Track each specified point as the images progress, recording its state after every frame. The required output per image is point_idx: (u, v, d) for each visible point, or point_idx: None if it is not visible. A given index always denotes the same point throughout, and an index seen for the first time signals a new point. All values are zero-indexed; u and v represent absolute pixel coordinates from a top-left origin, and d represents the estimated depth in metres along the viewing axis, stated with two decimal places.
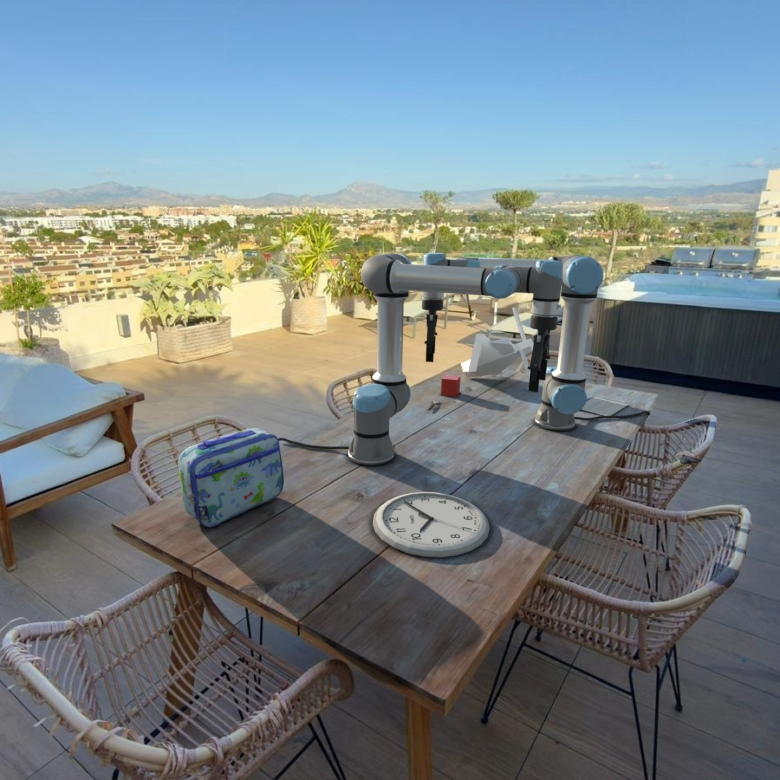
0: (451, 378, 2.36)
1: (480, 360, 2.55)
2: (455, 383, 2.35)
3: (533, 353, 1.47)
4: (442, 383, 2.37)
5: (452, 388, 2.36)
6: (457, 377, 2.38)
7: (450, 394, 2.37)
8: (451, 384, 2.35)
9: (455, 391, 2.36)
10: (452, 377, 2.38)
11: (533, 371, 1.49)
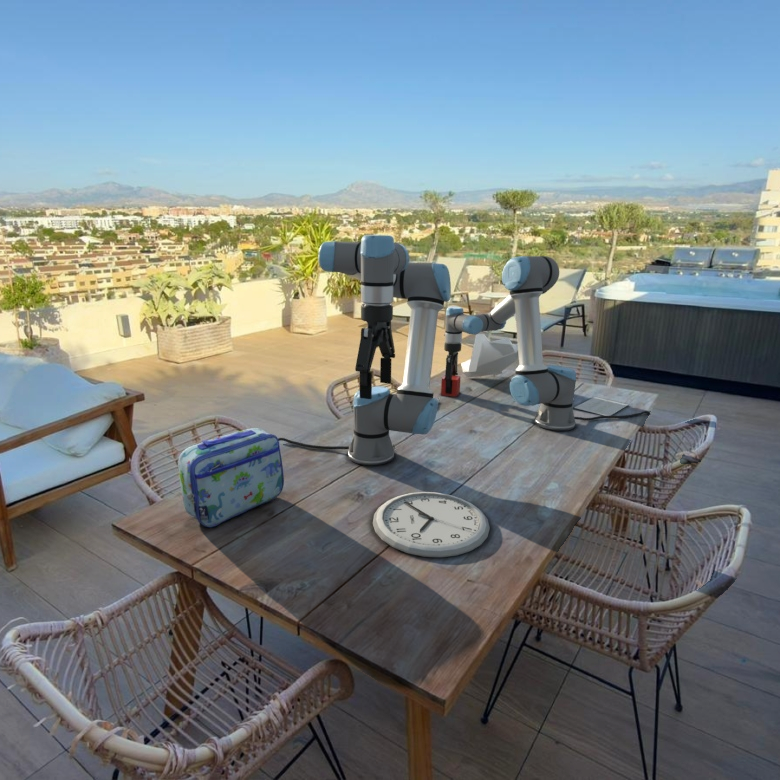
0: None
1: (480, 360, 2.55)
2: (455, 383, 2.35)
3: None
4: (442, 383, 2.37)
5: (452, 388, 2.36)
6: (457, 377, 2.38)
7: (450, 394, 2.37)
8: None
9: (455, 391, 2.36)
10: (452, 377, 2.38)
11: None
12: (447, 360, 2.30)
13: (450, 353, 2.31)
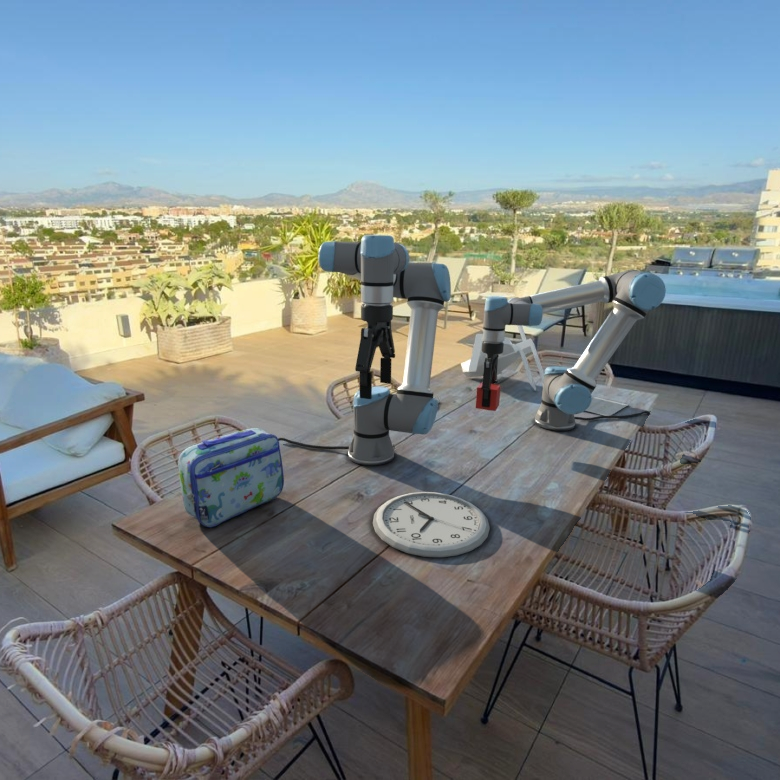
0: None
1: (480, 360, 2.55)
2: (494, 394, 1.84)
3: None
4: (477, 393, 1.86)
5: (491, 400, 1.85)
6: (497, 386, 1.88)
7: (487, 407, 1.86)
8: None
9: (494, 404, 1.85)
10: None
11: None
12: (485, 364, 1.79)
13: (489, 356, 1.81)
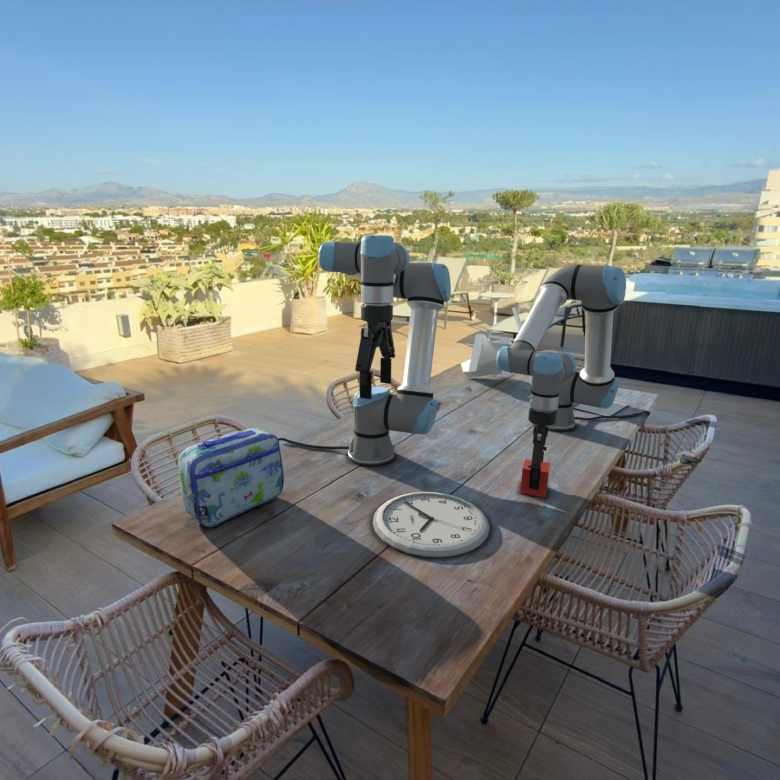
0: None
1: (480, 360, 2.55)
2: (545, 477, 1.47)
3: None
4: (523, 476, 1.49)
5: (540, 484, 1.48)
6: (546, 465, 1.51)
7: (536, 493, 1.50)
8: None
9: (544, 489, 1.48)
10: None
11: None
12: (536, 437, 1.41)
13: (540, 427, 1.43)
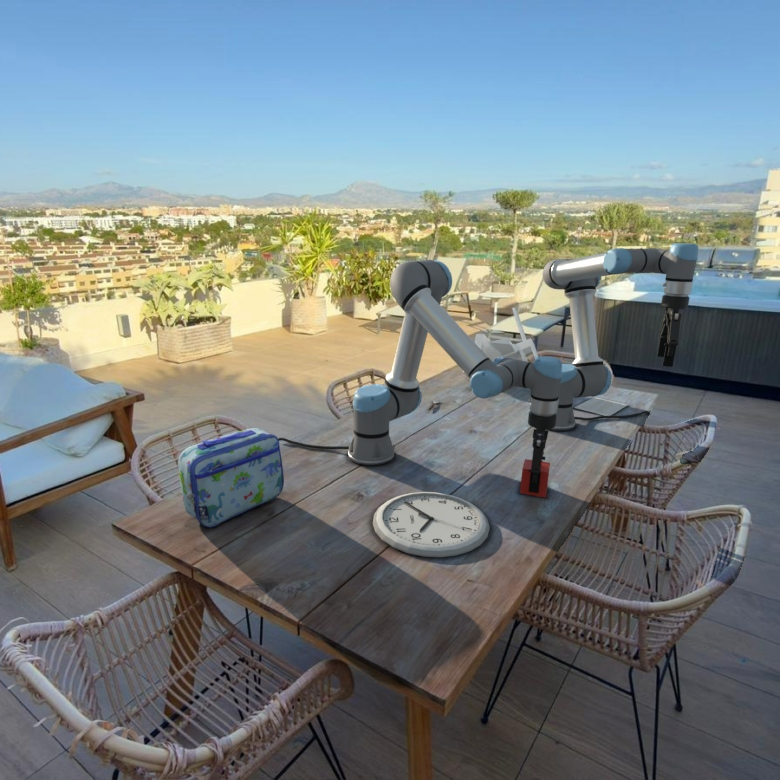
0: None
1: None
2: (545, 477, 1.47)
3: None
4: (523, 476, 1.49)
5: (540, 484, 1.48)
6: (546, 465, 1.51)
7: (536, 493, 1.50)
8: None
9: (544, 489, 1.48)
10: None
11: None
12: (674, 316, 1.58)
13: (675, 310, 1.60)
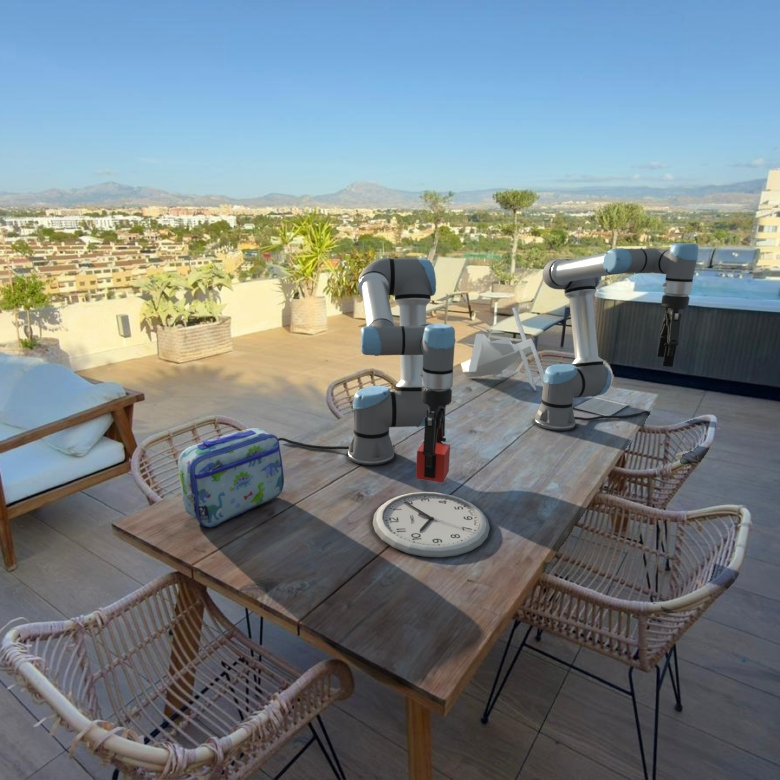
0: None
1: (480, 360, 2.55)
2: (441, 460, 1.32)
3: None
4: (418, 459, 1.34)
5: (437, 468, 1.33)
6: (444, 447, 1.35)
7: (432, 478, 1.34)
8: None
9: (441, 474, 1.33)
10: (436, 447, 1.35)
11: None
12: (674, 316, 1.58)
13: (675, 310, 1.60)
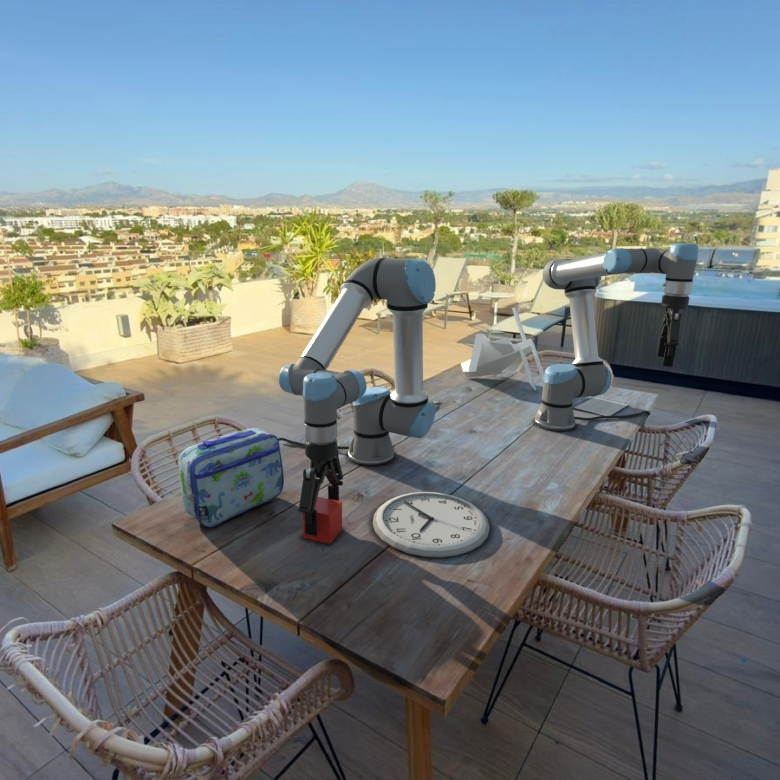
0: (321, 509, 1.26)
1: (480, 360, 2.55)
2: (327, 520, 1.24)
3: None
4: (304, 518, 1.26)
5: (323, 528, 1.25)
6: (334, 505, 1.27)
7: (320, 538, 1.26)
8: (320, 521, 1.25)
9: (328, 534, 1.25)
10: (325, 505, 1.27)
11: None
12: (674, 316, 1.58)
13: (675, 310, 1.60)
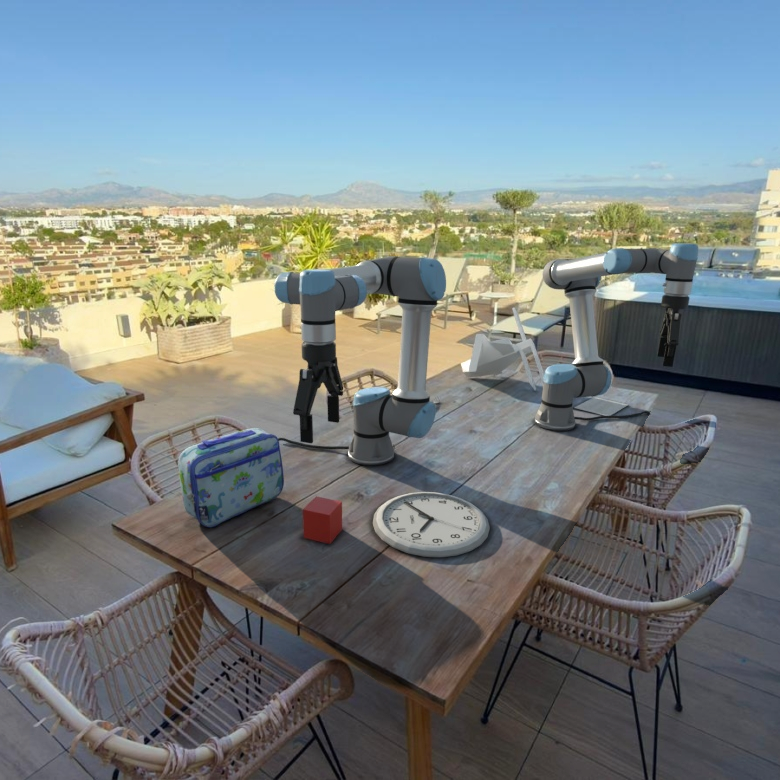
0: (321, 509, 1.26)
1: (480, 360, 2.55)
2: (327, 520, 1.24)
3: None
4: (304, 518, 1.26)
5: (323, 528, 1.25)
6: (334, 505, 1.27)
7: (320, 538, 1.26)
8: (320, 521, 1.25)
9: (328, 534, 1.25)
10: (325, 505, 1.27)
11: None
12: (674, 316, 1.58)
13: (675, 310, 1.60)
